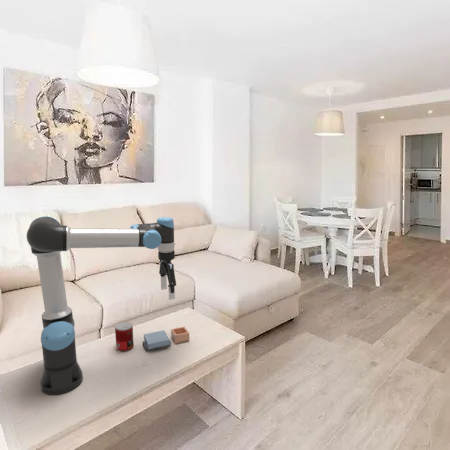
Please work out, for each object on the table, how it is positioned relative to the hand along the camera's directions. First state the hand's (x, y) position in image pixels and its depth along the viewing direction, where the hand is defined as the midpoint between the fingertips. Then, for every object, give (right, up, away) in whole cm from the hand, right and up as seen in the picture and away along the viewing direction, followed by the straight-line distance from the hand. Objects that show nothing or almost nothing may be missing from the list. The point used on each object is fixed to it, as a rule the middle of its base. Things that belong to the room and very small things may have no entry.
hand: (167, 294), depth 165 cm
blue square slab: (-5, -23, +1) cm, 24 cm away
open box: (+5, -24, +7) cm, 25 cm away
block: (-6, -25, +1) cm, 25 cm away
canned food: (-20, -25, 0) cm, 32 cm away
